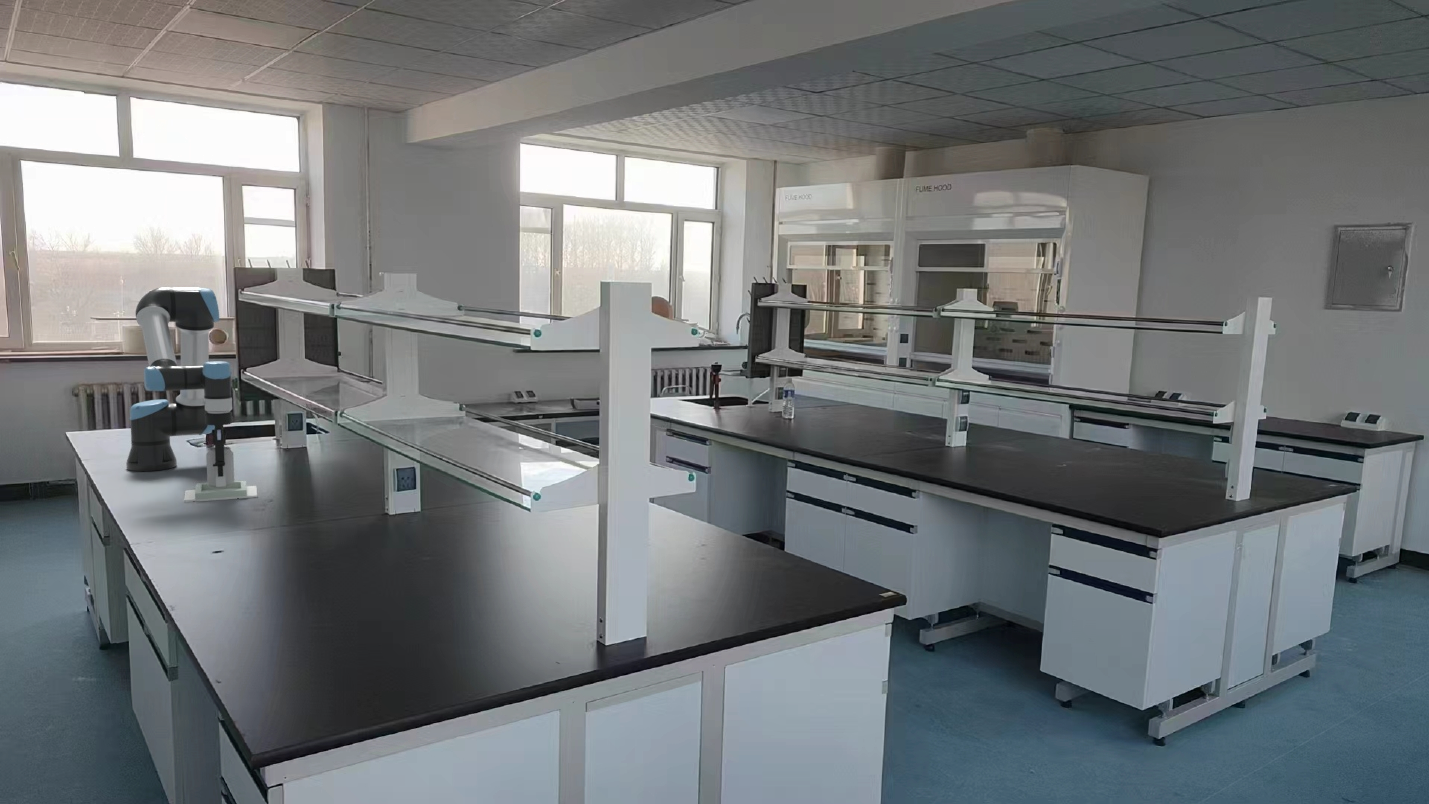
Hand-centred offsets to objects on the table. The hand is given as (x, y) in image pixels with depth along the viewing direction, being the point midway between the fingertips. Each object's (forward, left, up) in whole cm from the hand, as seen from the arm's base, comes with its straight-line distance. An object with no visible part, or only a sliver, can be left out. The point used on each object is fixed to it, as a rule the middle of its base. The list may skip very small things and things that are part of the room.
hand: (221, 483), depth 292 cm
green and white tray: (0, 0, -4) cm, 4 cm away
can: (0, 0, -1) cm, 1 cm away
